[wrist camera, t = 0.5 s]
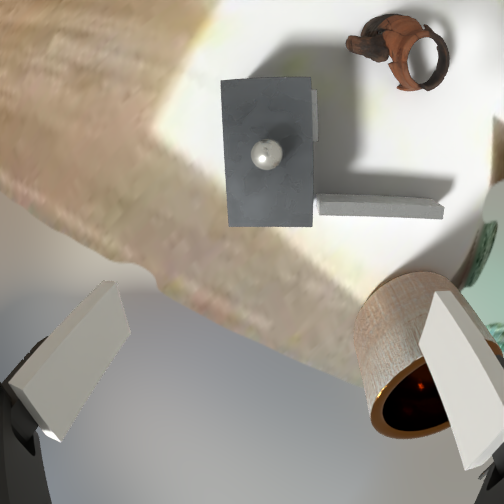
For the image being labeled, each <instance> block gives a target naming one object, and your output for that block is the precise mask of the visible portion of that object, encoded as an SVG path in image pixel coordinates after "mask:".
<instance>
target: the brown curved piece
mask: <svg viewBox="0 0 504 504" xmlns="http://www.w3.org/2000/svg"><path fill="white" fill-rule="evenodd" d="M424 27H425V29H424V30H423V29H422V27H421V25H420V24H419V22H418V21H417V20H416V19H414V18H411V17H409V16H402V15H399V14H386V15H383V16H380V17H375V18H373V19H371V20H370V21H369V22H367V23H366V25H365V26H364V28H363V30H362V32H361V37H358V36H352V35H351V36H348V39H347V40H346V47H347V48H348V49H349V51H350V52H352V53H355V54H359V55H364V57H366V58H371V60H373V61H376V62H383V61H386V60H387V59H388V57H389V55H390V57H391V58H392V60H393V62H391V63H389V64H388V65H389V67H390V69H391V71H392V72H393V74H394V76H395V77H396V79H397V80H398V81H399V83H400V84H401V85H399V86H397V89H399V90H404V91H415V90H420V89H425V90H426V91H430V90H432V89H434V88H436V87H437V86H438V85H439V84H440V83H441V82H442V81H443V79H444V77H445V76H446V74H447V72H448V67H449V60H450V59H449V52H448V48H447V46H446V43H445V42H444V40H443V39H442V38H441V36H439V35H438V34H436V33H434V31H433V30H432V29H431V28H430V27H429V26H428V25H425V24H424ZM381 31H384V32H383V33H382V35H380V34H378V32H381ZM424 37H430V38H432V39H433V40H434V41H435V42H436V43H437V45H438V46H437V50H438V57H439V58H438V63H437V67H436V70H435V71H434V73H433V74H432V76H431V77H430V78H429V80H428V81H426V82H425V83H422V84H418V83H416V82H415V81H414V80H413V79H412V78H411V76H410V73H409V70H408V65H407V59H408V54H409V51H410V49H411V47H412V46H413V44H414V43H415V42H416V41H417V40H418V39H421V38H424Z"/></svg>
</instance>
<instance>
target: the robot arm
mask: <svg viewBox="0 0 504 504" xmlns="http://www.w3.org/2000/svg"><path fill="white" fill-rule="evenodd" d="M130 334H131V331H130V328H129V324H128V321H127V318H126V314H125V310H124V307H123V303H122V300H121V296H120V292H119V288H118V284H117V282H113V281H102V282H101V283H100V284H99V285H98V286H97V287H96V288H95V289H94V290H93V291H92V292H91V293H90V294H89V295H88V296H87V297H86V298H85V299H84V300H83V301H82V302H81V303H80V304H79V305H78V306H77V307H76V308H75V309H74V310H73V311H72V312H71V313H70V314H69V315H68V316H67V317H66V318H65V319H64V320H63V321H62V323H61V324H60V325H59V326H58V327H57V328H56V329H55V330H54V331H53V332H52V333H51V334H50V335H49V336H47V337H46V338H44V339H43V340H41V341H39V342H38V343H37V344H36V345H35V346H34V347H33V348H32V349H31V350H30V353H28V354H27V355H26V356H25V357H24V360H21V362H20V363H19V364H18V365H17V366H16V367H15V368H14V370H13V371H12V372H11V373H10V374H9V375H8V377H7V378H6V379H5V380H4V381H3V383H1V382H0V504H52V502H51V498H50V494H49V490H48V486H47V481H46V477H45V471H44V466H43V461H42V455H41V448H40V441H39V436H38V433H37V432H36V431H35V430H36V429H37V427H38V426H39V427H40V428H41V429H42V430H43V432H44V433H45V434H46V435H47V436H49V437H51V438H53V439H55V440H57V441H59V442H62V440H63V438H64V437H65V435H66V434H67V432H68V430H69V429H70V427H71V425H72V424H73V422H74V420H75V419H76V417H77V416H78V414H79V412H80V410H81V409H82V407H83V406H84V404H85V403H86V401H87V399H88V398H89V396H90V395H91V393H92V391H93V390H94V388H95V387H96V385H97V384H98V382H99V381H100V379H101V377H102V376H103V374H104V373H105V371H106V370H107V368H108V367H109V365H110V364H111V362H112V361H113V359H114V358H115V356H116V354H117V353H118V352H119V350H120V349H121V347H122V345H123V344H124V343H125V341H126V340H127V338H128V337H129V335H130ZM419 347H420V349H421V351H422V353H423V356H424V358H425V360H426V363H427V365H428V367H429V370H430V372H431V375H432V377H433V379H434V382H435V384H436V387H437V390H438V392H439V395H440V397H441V400H442V403H443V405H444V408H445V411H446V413H447V416H448V419H449V422H450V425H451V427H452V430H453V433H454V437H455V440H456V443H457V446H458V449H459V452H460V456H461V459H462V462H463V466H464V469H465V470H469V469H472V468H475V467H478V466H480V465H483V464H484V463H485V462H486V461H487V460H488V459H489V458H490V457H491V456H493V459H494V462H493V463H492V464H491V465H490V466H489V467H488V468H487V469H486V470H485V471H484V472H483V473H482V474H481V475H480V476H479V478H478V479H480V480H481V479H482V478H483V477H484V476H485V475H486V474H487V476H486V478H485V480H484V483H483V485H482V488H481V490H480V492H479V494H478V497H477V499H476V501H475V503H474V504H504V358H503V357H502V356H501V355H500V354H499V355H495V354H494V353H493V351H492V350H491V348H490V347H489V345H488V344H487V342H486V340H485V339H484V337H483V336H482V334H481V333H480V331H479V330H478V329H477V327H476V326H475V324H474V323H473V321H472V320H471V319H470V317H469V316H468V314H467V313H466V312H465V310H464V309H463V307H462V306H461V305H460V303H459V302H458V301H457V299H456V298H455V297H454V295H453V294H452V293H451V291H435V293H434V297H433V300H432V304H431V307H430V310H429V314H428V317H427V320H426V323H425V326H424V330H423V333H422V335H421V338H420V341H419Z"/></svg>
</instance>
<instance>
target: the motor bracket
mask: <svg viewBox="0 0 504 504" xmlns="http://www.w3.org/2000/svg"><path fill="white" fill-rule="evenodd" d="M221 102H222V122H223V141H224V159H225V176H226V192H227V208H228V223H229V227H312V223H313V141H318V106H317V90H315V89H311V77H267V78H247V79H233V80H221ZM316 206H317V209H318V213H319V215H336V216H375V217H403V218H425V219H443V213H444V206H442V205H440V204H439V203H437V202H436V201H434V200H432V199H430V198H416V197H399V196H380V195H355V194H317V201H316Z"/></svg>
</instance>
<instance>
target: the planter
mask: <svg viewBox="0 0 504 504" xmlns="http://www.w3.org/2000/svg"><path fill="white" fill-rule="evenodd" d="M435 291H451V293H452V294H453V295H454V297H455V298H456V299H457V301H458V302H459V303H460V305H461V306H462V307H463V309H464V310H465V312H466V313H467V314H468V316H469V317H470V319H471V320H472V321H473V323H474V324H475V326H476V327H477V329H478V330H479V331H480V333H481V334H482V336H483V337H484V339H485V340H486V342H487V344H488V345H489V347H490V348H491V350H492V351H493V353H494V354H495V355H499V354H500V355H501V356H502V357H503V354H502V351H501V349H500V347H499V345H498V344H497V342H496V341H495V339H494V338H493V337H492V335H491V334H490V332H489V331H488V329H487V328H486V327H485V325H484V324H483V322H482V321H481V320H480V318H479V317H478V315H477V314H476V313H475V311H474V310H473V309H472V307H471V306H470V305H469V303H468V302H467V300H466V299H465V298H464V297H463V295H462V294H461V293H460V291H459V290H458V289H457V288H456V286H455V285H454V284H453V283H452V282H451V281H449V280H448V279H447V278H445V277H444V276H442V275H439V274H437V273H433V272H425V271H420V272H412V273H408V274H404V275H401V276H399V277H396V278H394V279H392V280H391V281H389V282H387V283H386V284H384V285H383V286H381V287H380V288H379V289H378V290H376V291H375V292H374V293H373V294H372V295H371V296H370V297H369V298H368V300H367V301H366V302H365V303H364V305H363V306H362V308H361V310H360V312H359V314H358V316H357V318H356V321H355V325H354V345H355V350H356V354H357V358H358V362H359V367H360V371H361V375H362V380H363V384H364V389H365V393H366V398H367V404H368V409H369V414H370V419H371V423H372V425H373V427H374V428H375V429H376V430H377V431H378V432H379V433H380V434H382V435H384V436H387V437H390V438H396V439H413V438H420V437H425V436H428V435H432V434H435V433H437V432H440V431H442V430H445V429H447V428H449V427H451V425H450V422H449V419H448V416H447V413H446V411H445V408H444V405H443V403H442V400H441V397H440V395H439V392H438V390H437V387H436V384H435V382H434V379H433V377H432V375H431V372H430V370H429V367H428V365H427V363H426V360H425V358H424V356H423V353H422V351H421V349H420V347H419V341H420V338H421V335H422V333H423V330H424V326H425V323H426V320H427V317H428V314H429V310H430V307H431V304H432V300H433V297H434V293H435Z"/></svg>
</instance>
